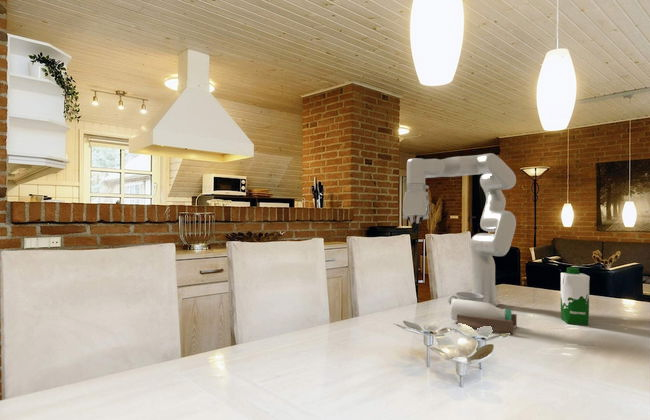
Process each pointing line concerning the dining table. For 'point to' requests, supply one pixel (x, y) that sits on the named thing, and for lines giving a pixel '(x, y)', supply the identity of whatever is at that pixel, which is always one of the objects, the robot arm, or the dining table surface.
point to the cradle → (490, 323)
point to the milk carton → (575, 297)
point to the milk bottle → (478, 310)
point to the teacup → (466, 296)
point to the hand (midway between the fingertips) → (415, 233)
